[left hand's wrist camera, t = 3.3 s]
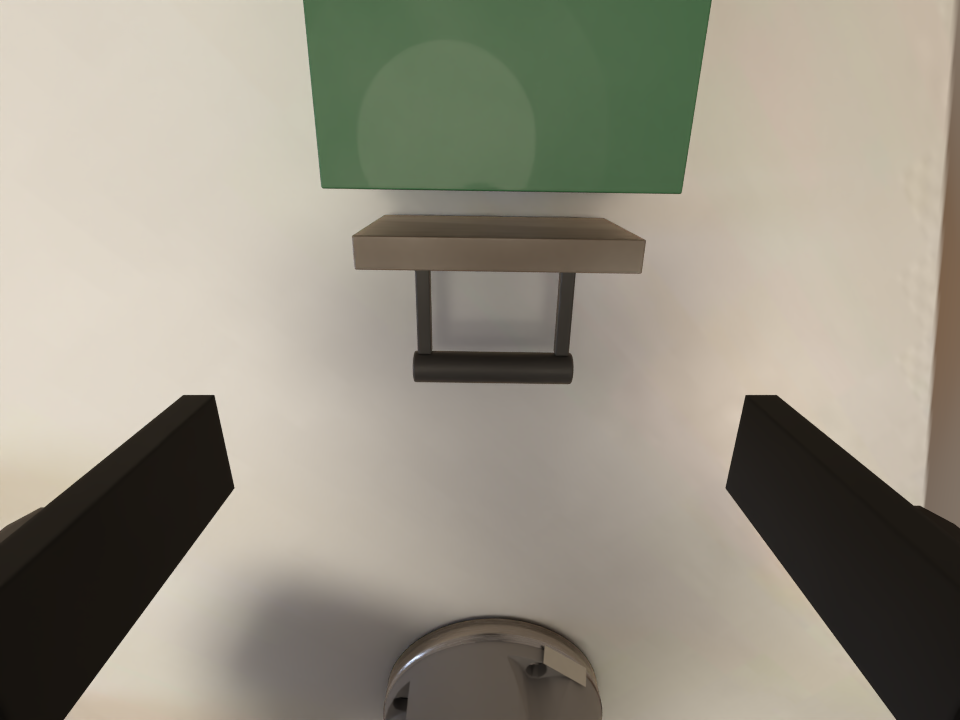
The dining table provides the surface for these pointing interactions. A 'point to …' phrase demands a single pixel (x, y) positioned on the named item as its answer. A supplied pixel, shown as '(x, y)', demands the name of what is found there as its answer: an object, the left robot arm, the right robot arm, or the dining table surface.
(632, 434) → the dining table surface
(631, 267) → the drawer
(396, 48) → the cabinet
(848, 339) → the dining table surface
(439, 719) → the left robot arm
